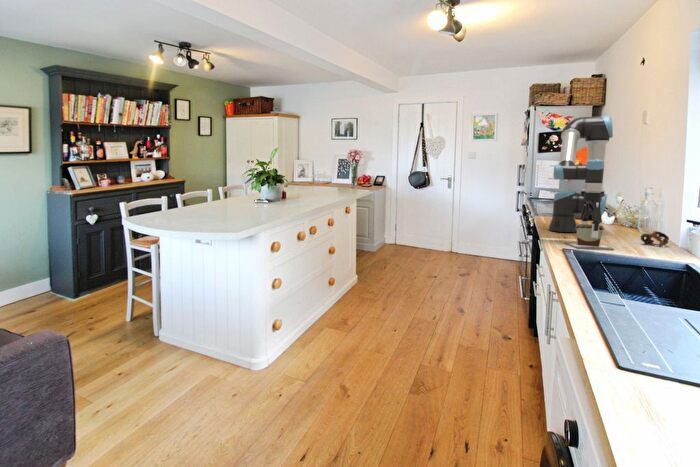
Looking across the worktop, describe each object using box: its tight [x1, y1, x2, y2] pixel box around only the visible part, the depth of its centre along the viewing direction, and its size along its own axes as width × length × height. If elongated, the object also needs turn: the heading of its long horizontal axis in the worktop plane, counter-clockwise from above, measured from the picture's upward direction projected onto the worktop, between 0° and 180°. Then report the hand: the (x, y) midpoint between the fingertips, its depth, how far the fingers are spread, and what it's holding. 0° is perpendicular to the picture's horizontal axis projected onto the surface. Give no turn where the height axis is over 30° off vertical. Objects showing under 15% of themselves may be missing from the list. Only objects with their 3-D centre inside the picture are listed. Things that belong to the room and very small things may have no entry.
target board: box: [564, 242, 615, 251], centre depth 210 cm, size 18×16×1 cm
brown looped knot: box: [640, 230, 670, 248], centre depth 217 cm, size 12×9×8 cm
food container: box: [575, 223, 605, 247], centre depth 209 cm, size 12×6×10 cm, turn 54°
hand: (589, 235), depth 209 cm, fingers open, 13 cm apart
